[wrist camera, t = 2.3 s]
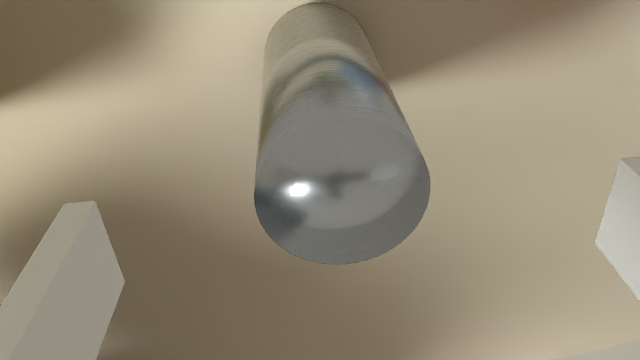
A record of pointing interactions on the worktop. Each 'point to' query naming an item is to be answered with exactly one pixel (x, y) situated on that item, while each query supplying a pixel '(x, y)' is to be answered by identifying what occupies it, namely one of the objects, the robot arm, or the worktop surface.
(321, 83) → the pipe stub
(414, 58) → the worktop surface
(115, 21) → the worktop surface
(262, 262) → the worktop surface
